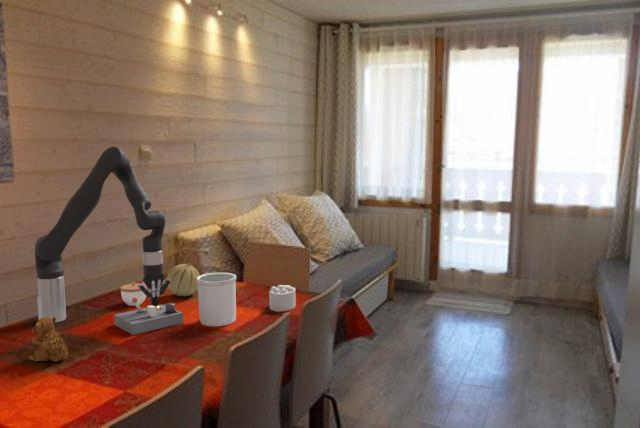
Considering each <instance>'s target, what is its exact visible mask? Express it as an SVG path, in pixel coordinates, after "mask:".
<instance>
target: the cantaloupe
mask: <svg viewBox="0 0 640 428" xmlns="http://www.w3.org/2000/svg"><path fill="white" fill-rule="evenodd" d="M191 264H192V263H190V262H189V263H179V264H177V265H175V266H173V267H172V268H171V269H170V271H168V274H167V276H166V280H169V281H170V284H169V285H168V287H167V289H168V290H169V292H170V293H172V294H174V295H175V296H178V297H181V296H183V297H189V296H191V295H194V293H196V292H197V291H198V283H197V277H198V276H200V273H199V271H198V269H197V268H195V266H193V265H191Z"/></svg>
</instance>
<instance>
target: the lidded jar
mask: <svg viewBox="0 0 640 428" xmlns="http://www.w3.org/2000/svg"><path fill="white" fill-rule="evenodd" d="M139 284H140V283H135V282H133V281H132V283H129V284H124V285H122V286H120V294H121V299H122V301H123V302H124V303H125V304H126V305H127V306H129V307H136V305H135V304H134V303H133V302H132V299H133V298H137V302H138V304H139V306H141V305H142V304H143V302H145V300H146V298H147V296H146V295H145V294H144V293H143V292H142V291H141V290H140V289H139V288H138V285H139ZM145 286H146V285H145ZM145 289H146V290H147V291H148V287H147V286H146V287H145Z"/></svg>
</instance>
